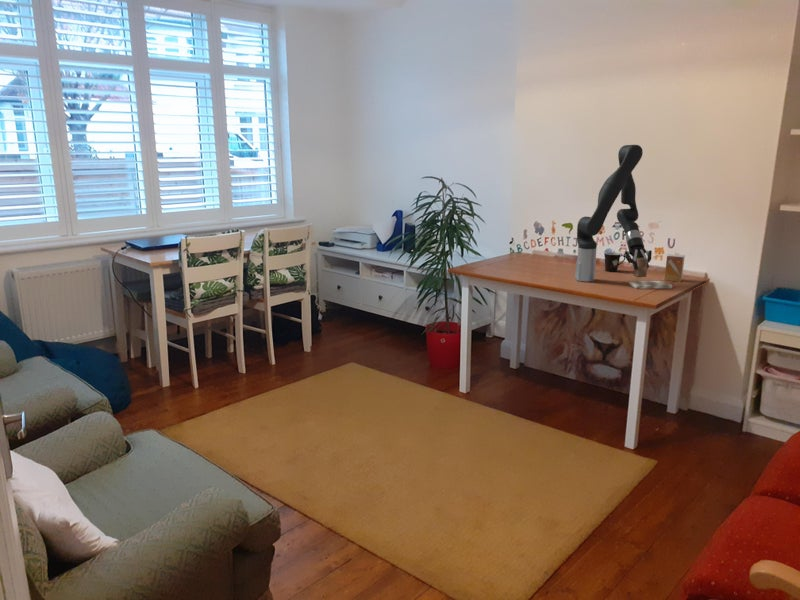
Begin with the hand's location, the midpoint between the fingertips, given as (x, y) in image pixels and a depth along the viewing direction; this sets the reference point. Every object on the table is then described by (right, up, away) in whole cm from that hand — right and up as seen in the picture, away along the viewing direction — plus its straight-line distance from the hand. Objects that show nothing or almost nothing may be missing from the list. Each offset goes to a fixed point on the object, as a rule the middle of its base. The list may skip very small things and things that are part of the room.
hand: (641, 268), depth 309 cm
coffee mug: (0, +1, +41) cm, 41 cm away
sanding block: (0, -3, +3) cm, 4 cm away
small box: (+23, -5, +18) cm, 30 cm away
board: (+6, -9, +4) cm, 11 cm away
